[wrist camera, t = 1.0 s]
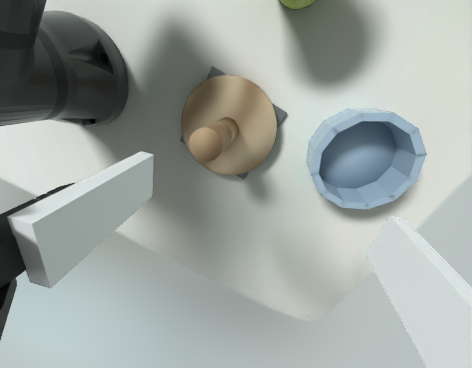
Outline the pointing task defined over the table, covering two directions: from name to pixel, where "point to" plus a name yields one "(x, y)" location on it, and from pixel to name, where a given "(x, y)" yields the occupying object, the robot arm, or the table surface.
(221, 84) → the lid
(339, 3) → the table surface
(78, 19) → the robot arm
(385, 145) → the bowl
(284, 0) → the plant pot
